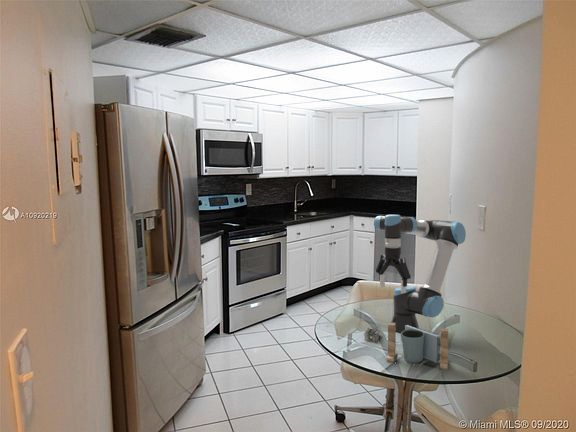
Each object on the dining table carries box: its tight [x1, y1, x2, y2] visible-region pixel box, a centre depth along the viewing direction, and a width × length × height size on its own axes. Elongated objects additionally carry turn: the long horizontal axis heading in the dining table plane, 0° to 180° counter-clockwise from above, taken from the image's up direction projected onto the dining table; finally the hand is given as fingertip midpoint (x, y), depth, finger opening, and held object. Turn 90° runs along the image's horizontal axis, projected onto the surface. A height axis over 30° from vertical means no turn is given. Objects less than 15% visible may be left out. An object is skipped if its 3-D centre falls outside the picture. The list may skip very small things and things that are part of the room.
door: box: [405, 325, 441, 364], centre depth 204 cm, size 3×19×12 cm, turn 34°
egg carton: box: [363, 327, 381, 342], centre depth 229 cm, size 11×8×4 cm
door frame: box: [386, 321, 449, 370], centre depth 199 cm, size 10×26×16 cm, turn 68°
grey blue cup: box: [400, 329, 424, 364], centre depth 201 cm, size 10×10×12 cm
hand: (392, 290), depth 213 cm, fingers open, 13 cm apart
